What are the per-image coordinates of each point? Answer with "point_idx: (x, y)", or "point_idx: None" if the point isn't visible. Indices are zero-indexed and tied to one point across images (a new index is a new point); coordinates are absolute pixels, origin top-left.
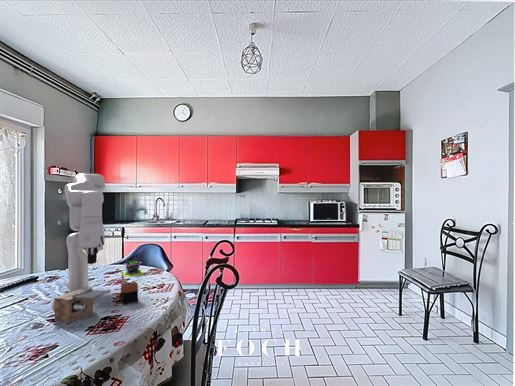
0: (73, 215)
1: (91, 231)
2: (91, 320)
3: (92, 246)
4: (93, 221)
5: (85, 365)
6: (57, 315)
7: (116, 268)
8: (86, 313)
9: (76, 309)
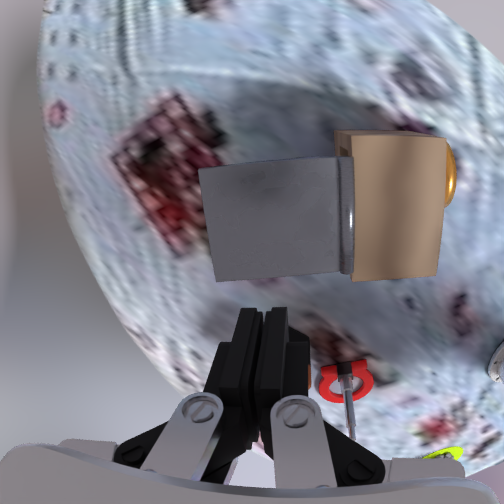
0: None
1: None
2: None
3: (49, 462)
4: None
5: (50, 20)
6: (399, 131)
7: (488, 456)
8: None
9: (324, 156)
